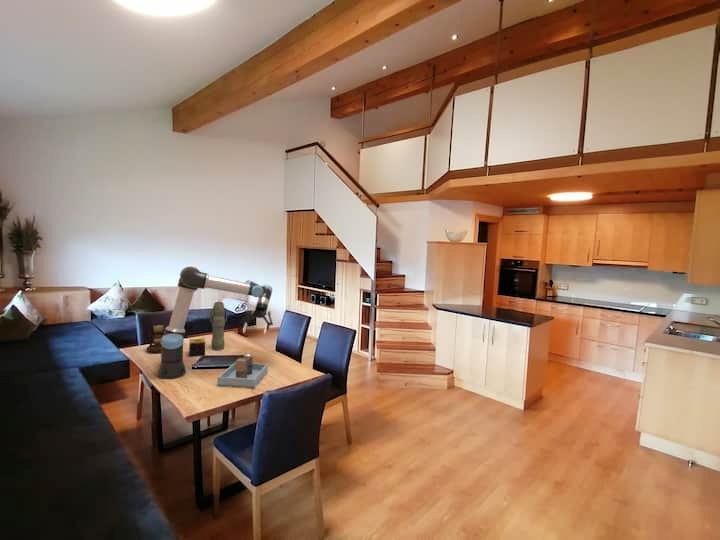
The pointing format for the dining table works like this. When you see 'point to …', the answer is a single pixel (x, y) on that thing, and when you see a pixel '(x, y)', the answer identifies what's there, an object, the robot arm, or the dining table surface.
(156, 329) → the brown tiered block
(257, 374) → the tray
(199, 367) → the dining table surface
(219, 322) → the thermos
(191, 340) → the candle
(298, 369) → the dining table surface
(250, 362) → the pepper mill
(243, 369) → the walnut block
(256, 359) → the dining table surface
